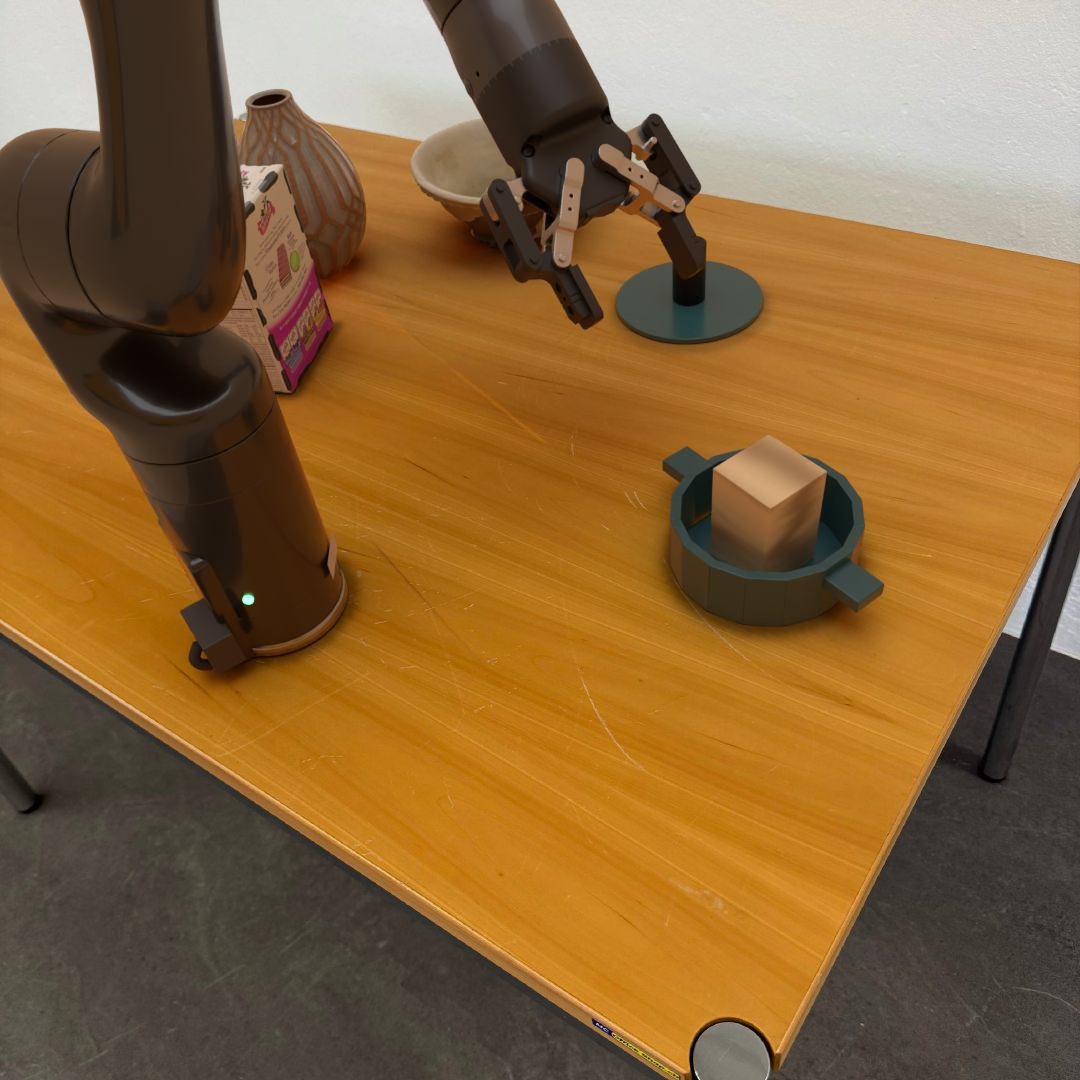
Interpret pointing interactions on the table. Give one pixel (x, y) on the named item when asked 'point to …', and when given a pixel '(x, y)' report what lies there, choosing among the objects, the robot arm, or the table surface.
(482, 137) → the bowl
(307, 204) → the vase
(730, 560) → the block
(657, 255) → the table surface
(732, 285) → the lid
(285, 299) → the candy bar box
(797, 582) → the pot
